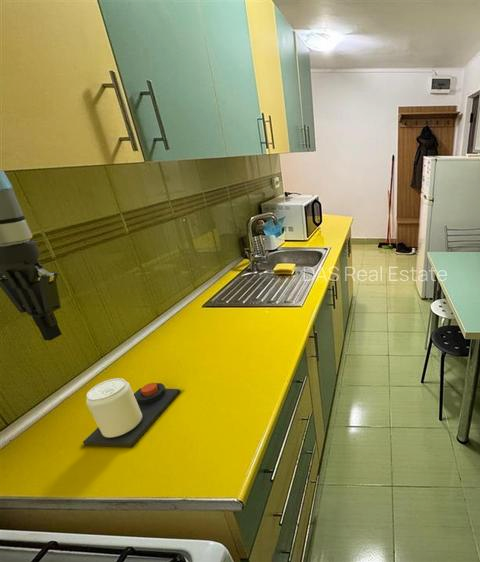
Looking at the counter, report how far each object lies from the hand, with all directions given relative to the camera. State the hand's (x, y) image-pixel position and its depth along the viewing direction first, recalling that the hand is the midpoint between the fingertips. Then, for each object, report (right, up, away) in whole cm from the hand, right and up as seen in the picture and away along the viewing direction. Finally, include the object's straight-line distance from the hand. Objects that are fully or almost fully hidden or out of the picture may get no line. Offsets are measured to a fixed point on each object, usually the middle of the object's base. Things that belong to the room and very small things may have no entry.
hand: (53, 337), depth 73 cm
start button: (+14, -18, +12) cm, 26 cm away
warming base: (+14, -22, +8) cm, 28 cm away
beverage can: (+14, -23, +3) cm, 27 cm away
